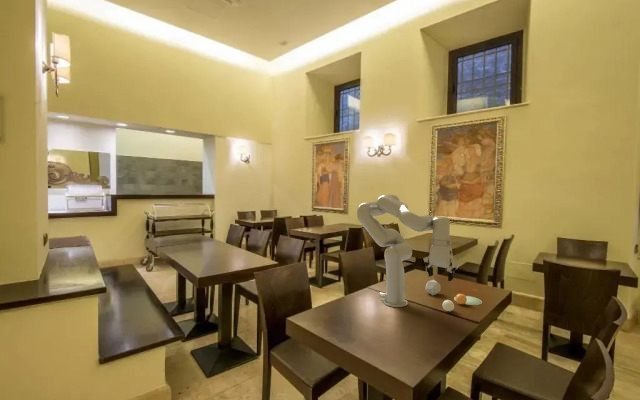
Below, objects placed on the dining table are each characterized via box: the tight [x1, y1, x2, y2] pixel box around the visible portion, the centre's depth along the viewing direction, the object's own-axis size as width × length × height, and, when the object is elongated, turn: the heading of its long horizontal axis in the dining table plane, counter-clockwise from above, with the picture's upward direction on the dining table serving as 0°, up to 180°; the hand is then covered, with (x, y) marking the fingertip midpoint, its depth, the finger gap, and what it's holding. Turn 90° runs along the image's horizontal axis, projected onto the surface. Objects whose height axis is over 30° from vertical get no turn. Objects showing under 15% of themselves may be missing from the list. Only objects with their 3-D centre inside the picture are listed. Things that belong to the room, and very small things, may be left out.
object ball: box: [455, 293, 467, 305], centre depth 160 cm, size 6×6×6 cm
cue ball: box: [441, 299, 455, 312], centre depth 151 cm, size 6×6×6 cm
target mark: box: [453, 295, 483, 306], centre depth 165 cm, size 14×14×1 cm
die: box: [424, 279, 442, 296], centre depth 177 cm, size 8×9×10 cm
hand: (440, 278), depth 144 cm, fingers open, 9 cm apart
